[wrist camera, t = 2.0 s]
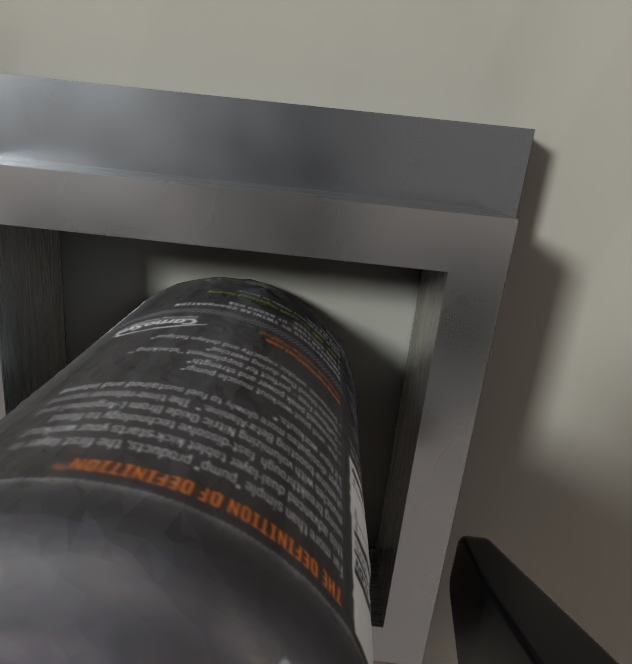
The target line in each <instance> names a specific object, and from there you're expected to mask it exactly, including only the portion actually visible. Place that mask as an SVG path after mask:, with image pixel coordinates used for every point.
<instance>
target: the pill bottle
mask: <svg viewBox="0 0 632 664" xmlns="http://www.w3.org/2000/svg"><path fill="white" fill-rule="evenodd" d="M359 446H360V445H359V439H358V421H357V407H356V394H355V386H354V382H353V377H352V373H351V369H350V365H349V362H348V360H347V358H346V355H345V353H344V351H343V349H342V347H341V345H340V343H339V341H338V340H337V338H336V337H335V336H334V335H333V333H332V332H331V331H330V330H329V328H328V327H327V326H326V325H325V324H324V322H323V321H322V320H321V319H320V318H319V317H318V316H317V315H316V314H315V313H314V312H313V311H312V310H311V309H310V308H308V307H307V306H305V305H304V304H303V303H301V302H300V301H298V300H297V299H295V298H293V297H292V296H290V295H288V294H286V293H285V292H283V291H281V290H279V289H276V288H274V287H271V286H269V285H266V284H263V283H261V282H258V281H254V280H251V279H234V278H226V277H212V278H205V279H198V280H192V281H187V282H183V283H179V284H176V285H173V286H171V287H169V288H167V289H165V290H163V291H161V292H159V293H157V294H155V295H153V296H151V297H150V298H148V299H147V300H146V301H144V302H143V303H142V304H141V305H140V306H139V307H137V308H136V309H135V310H134V311H132V312H131V313H130V314H129V315H128V316H126V317H125V318H124V319H123V320H122V321H120V322H119V323H118V324H117V325H116V326H114V327H113V328H112V329H111V330H110V331H108V332H107V333H106V334H105V335H104V336H102V337H101V338H100V339H99V340H97V341H96V342H95V343H94V344H92V345H91V346H90V347H89V348H88V349H86V350H85V351H84V352H83V353H81V354H80V355H79V356H78V357H77V358H75V359H74V360H73V361H72V362H71V363H69V364H68V365H67V366H66V367H65V368H64V369H62V370H61V371H59V372H58V373H57V374H56V375H55V376H54V377H53V378H51V379H50V380H49V381H48V382H46V383H45V384H44V385H43V386H41V387H40V388H39V389H38V390H36V391H35V392H33V393H32V394H31V395H30V396H29V397H28V398H26V399H25V400H23V401H22V402H21V403H20V404H19V405H18V406H17V407H16V408H15V409H14V410H12V411H11V412H9V413H8V414H7V415H6V416H5V417H3V418H2V419H1V420H0V664H373V644H372V626H371V607H370V595H369V583H370V576H371V570H370V560H369V551H368V539H367V530H366V522H365V511H364V500H363V489H362V474H361V466H360V456H359Z"/></svg>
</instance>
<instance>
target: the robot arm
mask: <svg viewBox="0 0 632 664" xmlns="http://www.w3.org/2000/svg"><path fill="white" fill-rule="evenodd" d="M450 599H451V607H452V615H453V624H454V632H455V640H456V649H457V657H458V664H619V663H618V662H617V661H615V660H614V659H613V658H612V657H611V656H610V655H609V654H608V653H607V652H606V651H605V650H604V649H603V648H602V647H601V646H600V645H599V644H598V643H597V642H596V641H595V640H593V639H592V638H591V637H590V636H589V635H588V634H587V633H586V632H585V631H584V630H583V629H582V628H581V627H580V626H579V625H578V624H577V623H576V622H575V621H574V620H573V619H571V618H570V617H569V616H568V615H567V614H566V613H565V612H564V611H563V610H562V609H561V608H560V607H559V606H558V605H557V604H556V603H555V602H554V601H553V600H552V599H551V598H549V597H548V596H547V595H546V594H545V593H544V592H543V591H542V590H541V589H540V588H539V587H538V586H537V585H536V584H535V583H534V582H533V581H532V580H531V579H530V578H529V577H527V576H526V575H525V574H524V573H523V572H522V571H521V570H520V569H519V568H518V567H517V566H516V565H515V564H514V563H513V562H512V561H511V560H510V559H509V558H508V557H507V556H505V555H504V554H503V553H502V552H501V551H500V550H499V549H498V548H497V547H496V546H495V545H494V544H493V543H492V542H491V541H489V540H488V539H486V538H482V537H473V536H463V537H461V538H460V540H459V541H458V545H457V549H456V553H455V558H454V562H453V567H452V571H451V576H450Z"/></svg>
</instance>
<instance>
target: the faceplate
mask: <svg viewBox="0 0 632 664" xmlns="http://www.w3.org/2000/svg"><path fill="white" fill-rule="evenodd" d="M534 132H535V129H526V128H516V127H507V126H497V125H488V124H478V123H469V122H459V121H449V120H440V119H430V118H421V117H411V116H402V115H392V114H382V113H373V112H363V111H354V110H344V109H335V108H325V107H316V106H306V105H296V104H287V103H277V102H268V101H258V100H249V99H239V98H230V97H220V96H210V95H201V94H191V93H182V92H172V91H163V90H153V89H143V88H134V87H124V86H115V85H105V84H96V83H86V82H77V81H67V80H57V79H48V78H38V77H29V76H19V75H10V74H0V420H1V419H2V418H3V417H5V416H6V415H7V414H8V413H9V412H11V411H12V410H14V409H15V408H16V407H17V406H18V405H19V404H20V403H21V402H22V401H23V400H25V399H26V398H28V397H29V396H30V395H31V394H32V393H33V392H35V391H36V390H38V389H39V388H40V387H41V386H43V385H44V384H45V383H46V382H48V381H49V380H50V379H51V378H53V377H54V376H55V375H56V374H57V373H58V372H59V371H61V370H62V369H64V368H65V367H66V366H67V362H66V344H65V326H64V308H63V289H62V271H61V253H60V235H59V231H69V232H78V233H87V234H97V235H106V236H115V237H125V238H134V239H144V240H153V241H162V242H172V243H181V244H190V245H200V246H209V247H219V248H228V249H237V250H247V251H256V252H265V253H275V254H284V255H293V256H303V257H312V258H322V259H331V260H340V261H350V262H359V263H368V264H378V265H387V266H396V267H406V268H415V269H422V275H421V281H420V287H419V293H418V299H417V305H416V311H415V317H414V323H413V329H412V335H411V341H410V347H409V353H408V359H407V365H406V371H405V377H404V383H403V389H402V395H401V401H400V407H399V413H398V419H397V425H396V431H395V437H394V443H393V449H392V455H391V461H390V468H389V474H388V480H387V486H386V492H385V498H384V504H383V510H382V516H381V522H380V528H379V534H378V540H377V546H376V548H371V547H368V551H369V560H370V570H371V576H370V583H369V595H370V607H371V626H372V644H373V661H378V662H387V663H396V664H422V660H423V656H424V651H425V647H426V642H427V637H428V633H429V628H430V624H431V619H432V615H433V610H434V605H435V601H436V596H437V592H438V587H439V583H440V578H441V573H442V569H443V564H444V560H445V555H446V551H447V546H448V541H449V537H450V532H451V528H452V523H453V519H454V514H455V509H456V505H457V500H458V496H459V491H460V486H461V482H462V477H463V473H464V468H465V464H466V459H467V454H468V450H469V445H470V441H471V436H472V432H473V427H474V422H475V418H476V413H477V409H478V404H479V400H480V395H481V390H482V386H483V381H484V377H485V372H486V368H487V363H488V358H489V354H490V349H491V345H492V340H493V336H494V331H495V326H496V322H497V317H498V313H499V308H500V304H501V299H502V294H503V290H504V285H505V281H506V276H507V272H508V267H509V262H510V258H511V253H512V249H513V244H514V240H515V235H516V230H517V226H518V221H519V219H517V218H516V215H517V211H518V206H519V201H520V197H521V192H522V187H523V183H524V178H525V174H526V169H527V164H528V160H529V155H530V151H531V146H532V141H533V137H534Z"/></svg>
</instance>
